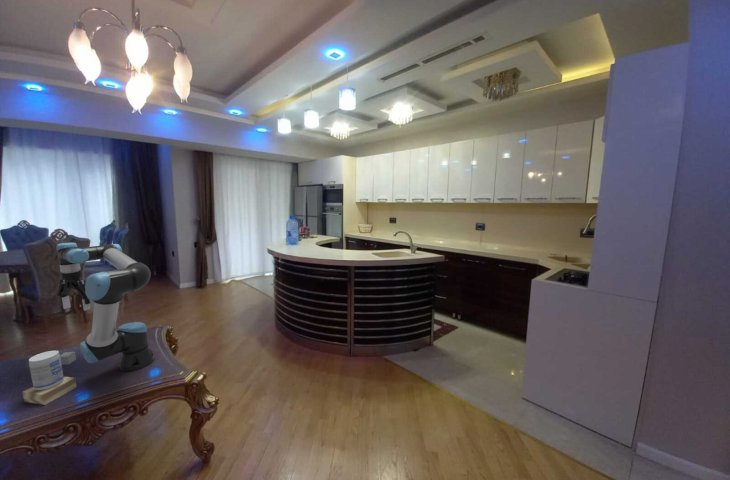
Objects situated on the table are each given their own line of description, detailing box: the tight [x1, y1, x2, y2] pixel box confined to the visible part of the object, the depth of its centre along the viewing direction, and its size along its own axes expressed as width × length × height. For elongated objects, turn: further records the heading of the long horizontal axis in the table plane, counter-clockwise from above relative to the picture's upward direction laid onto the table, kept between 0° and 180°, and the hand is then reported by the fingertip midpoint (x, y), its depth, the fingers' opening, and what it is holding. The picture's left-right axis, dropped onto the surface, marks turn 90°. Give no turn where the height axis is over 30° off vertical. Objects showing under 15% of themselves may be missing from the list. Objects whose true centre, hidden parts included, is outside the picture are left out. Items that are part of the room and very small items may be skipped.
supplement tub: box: [28, 350, 64, 390], centre depth 129 cm, size 10×10×15 cm
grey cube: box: [60, 351, 77, 366], centre depth 156 cm, size 5×5×5 cm
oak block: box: [22, 375, 77, 406], centre depth 131 cm, size 12×12×5 cm
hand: (77, 308), depth 152 cm, fingers open, 13 cm apart
